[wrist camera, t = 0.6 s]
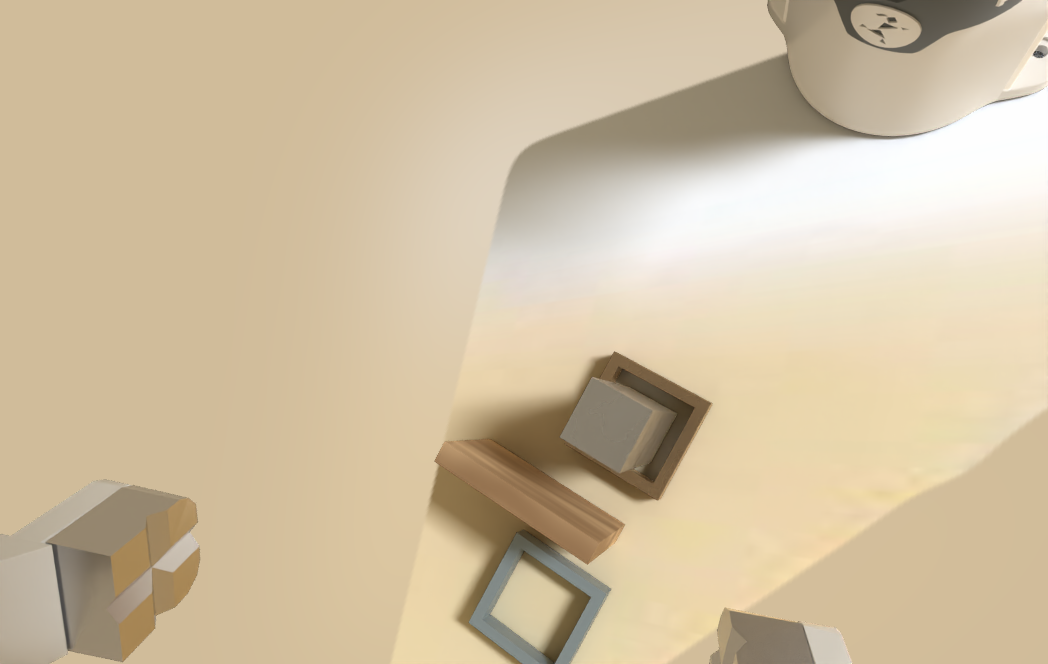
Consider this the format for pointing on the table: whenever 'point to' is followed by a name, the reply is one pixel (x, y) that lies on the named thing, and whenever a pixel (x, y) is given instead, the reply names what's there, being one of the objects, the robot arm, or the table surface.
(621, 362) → the key socket
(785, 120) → the table surface
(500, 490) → the board
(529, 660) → the keeper socket
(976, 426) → the table surface
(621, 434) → the block
